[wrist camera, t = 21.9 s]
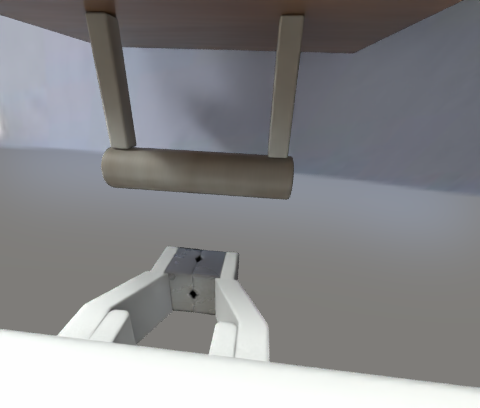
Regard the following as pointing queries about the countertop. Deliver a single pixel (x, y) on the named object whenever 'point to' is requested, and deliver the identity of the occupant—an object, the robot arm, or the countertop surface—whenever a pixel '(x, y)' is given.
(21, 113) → the countertop surface
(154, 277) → the robot arm
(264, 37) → the drawer
